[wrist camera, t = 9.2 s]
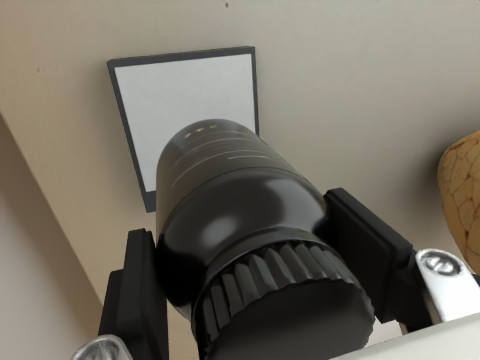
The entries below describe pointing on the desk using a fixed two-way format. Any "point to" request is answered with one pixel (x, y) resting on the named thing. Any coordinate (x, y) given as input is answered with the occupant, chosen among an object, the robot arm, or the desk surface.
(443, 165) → the bowl
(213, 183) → the supplement bottle
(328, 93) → the desk surface
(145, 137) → the scale
